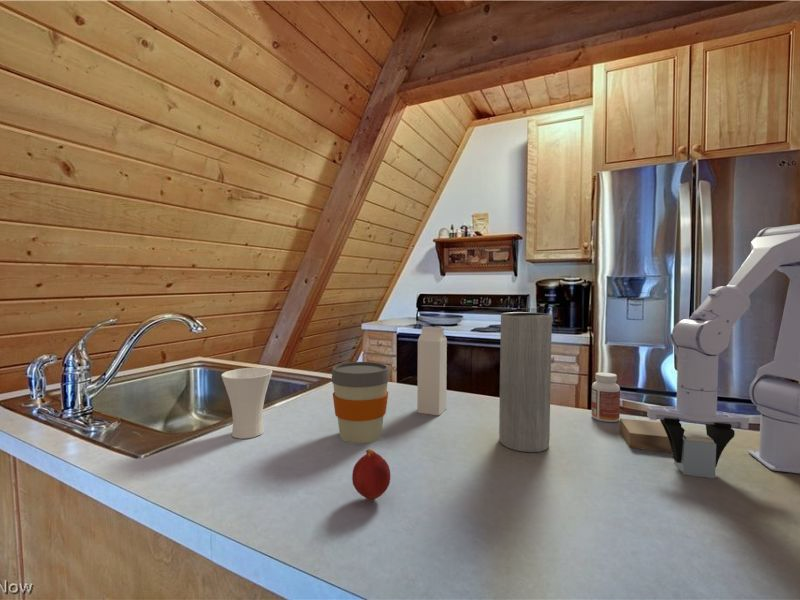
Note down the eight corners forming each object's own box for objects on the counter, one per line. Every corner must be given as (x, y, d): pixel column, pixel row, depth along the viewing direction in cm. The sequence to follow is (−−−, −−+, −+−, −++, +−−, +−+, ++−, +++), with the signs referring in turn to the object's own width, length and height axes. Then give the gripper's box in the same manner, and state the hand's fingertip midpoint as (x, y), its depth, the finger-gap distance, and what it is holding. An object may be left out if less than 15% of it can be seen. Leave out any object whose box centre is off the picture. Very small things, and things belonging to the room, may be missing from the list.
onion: (371, 485, 64) (370, 437, 64) (398, 498, 60) (398, 447, 60) (344, 501, 60) (344, 449, 59) (372, 515, 56) (371, 460, 56)
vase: (531, 457, 75) (534, 316, 73) (489, 441, 82) (491, 313, 81) (558, 444, 81) (561, 314, 80) (516, 430, 89) (518, 311, 88)
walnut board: (665, 436, 85) (666, 422, 85) (681, 453, 77) (681, 438, 77) (619, 431, 88) (619, 418, 88) (629, 447, 80) (629, 432, 79)
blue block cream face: (703, 466, 71) (704, 431, 71) (715, 478, 67) (716, 441, 67) (674, 462, 73) (675, 428, 72) (683, 474, 68) (684, 437, 68)
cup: (274, 438, 83) (273, 376, 83) (220, 446, 79) (219, 380, 79) (271, 422, 93) (270, 366, 93) (223, 428, 89) (222, 369, 89)
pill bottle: (624, 419, 96) (625, 375, 95) (611, 424, 92) (612, 378, 92) (599, 412, 101) (600, 370, 100) (586, 417, 97) (587, 373, 97)
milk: (425, 406, 106) (425, 325, 105) (446, 409, 103) (447, 326, 103) (416, 412, 100) (417, 327, 100) (439, 416, 98) (440, 328, 97)
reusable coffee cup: (321, 443, 81) (321, 371, 80) (344, 422, 93) (344, 360, 92) (379, 449, 78) (380, 375, 77) (395, 427, 90) (395, 363, 89)
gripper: (735, 385, 71) (732, 458, 71) (643, 378, 75) (641, 448, 76) (756, 395, 64) (753, 476, 65) (654, 388, 68) (652, 464, 69)
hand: (694, 462), depth 70 cm, fingers closed on blue block cream face, 5 cm apart
